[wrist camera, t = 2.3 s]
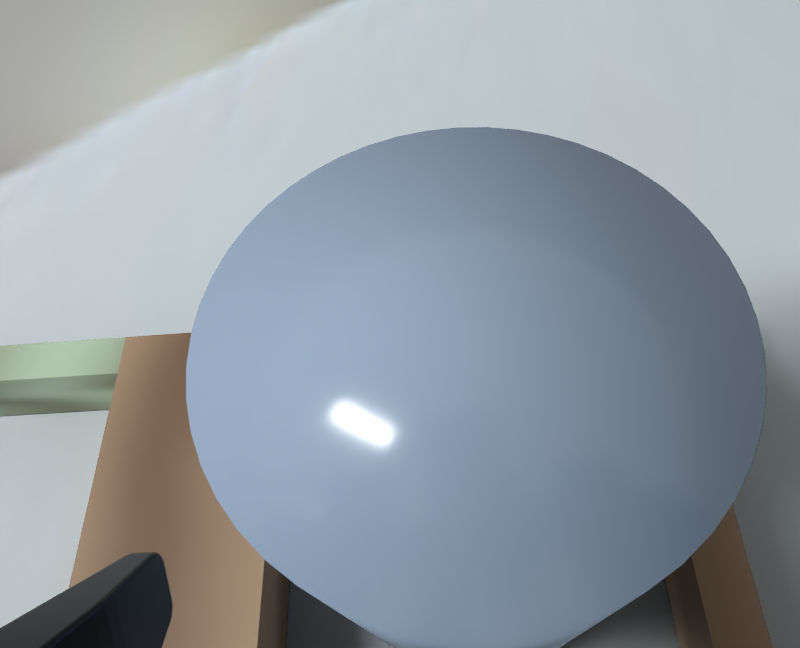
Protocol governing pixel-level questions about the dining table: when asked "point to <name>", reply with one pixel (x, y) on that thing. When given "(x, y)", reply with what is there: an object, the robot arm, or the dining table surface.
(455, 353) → the canister
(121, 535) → the caddy
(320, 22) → the dining table surface
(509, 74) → the dining table surface
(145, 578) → the robot arm
